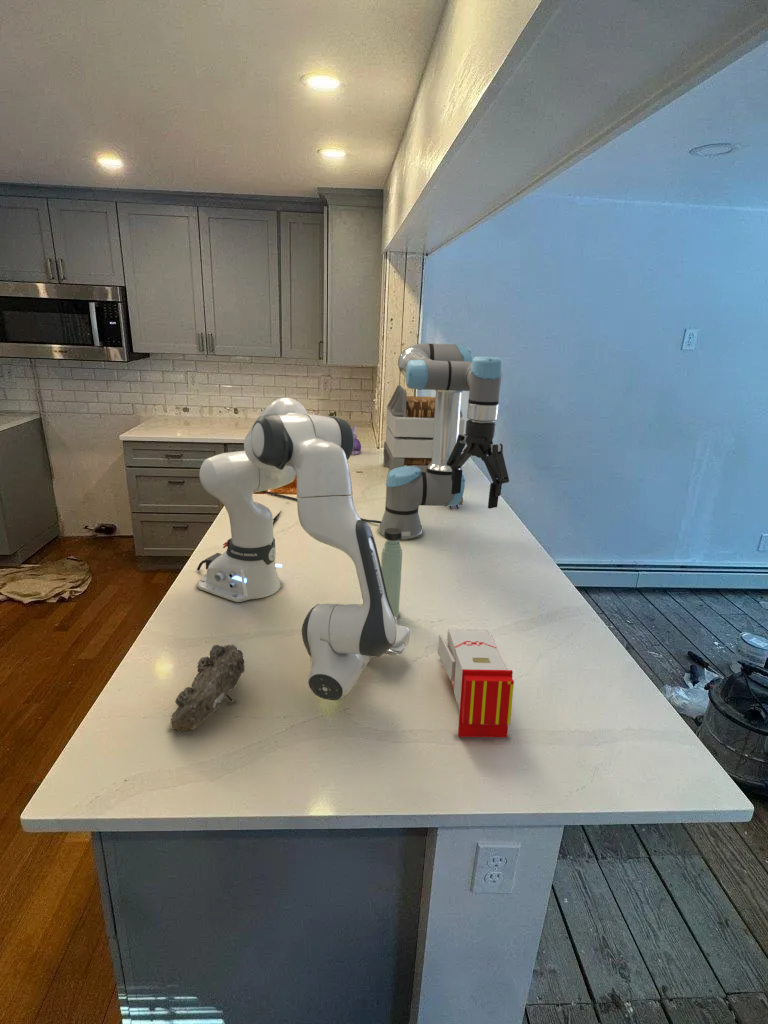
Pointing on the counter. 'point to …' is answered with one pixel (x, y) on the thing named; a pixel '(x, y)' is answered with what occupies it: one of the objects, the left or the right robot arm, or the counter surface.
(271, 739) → the counter surface
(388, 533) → the cap
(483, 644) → the toy
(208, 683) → the fossil
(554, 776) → the counter surface
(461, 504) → the figurine character
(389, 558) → the bottle
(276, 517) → the feather
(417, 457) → the transformer
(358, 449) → the figurine
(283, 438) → the left robot arm
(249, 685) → the counter surface
